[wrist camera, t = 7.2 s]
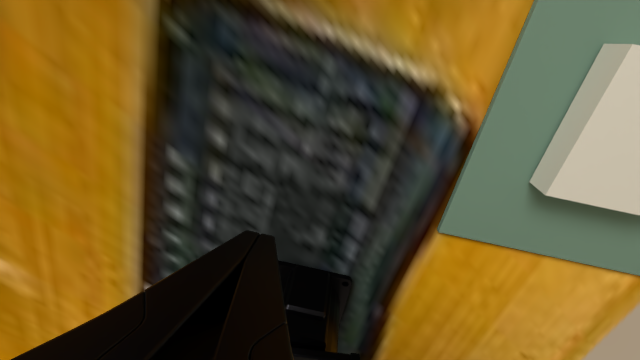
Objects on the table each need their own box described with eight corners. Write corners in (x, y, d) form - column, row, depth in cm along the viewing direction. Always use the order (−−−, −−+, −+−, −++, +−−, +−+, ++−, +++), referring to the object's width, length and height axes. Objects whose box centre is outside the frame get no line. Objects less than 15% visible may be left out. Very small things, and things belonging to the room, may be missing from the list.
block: (527, 180, 19) (638, 204, 19) (545, 195, 17) (667, 221, 17) (600, 43, 16) (736, 71, 16) (632, 44, 14) (786, 75, 14)
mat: (660, 277, 22) (666, 281, 21) (437, 228, 22) (438, 232, 21) (923, -22, 14) (938, -23, 13) (573, -91, 14) (578, -95, 14)
